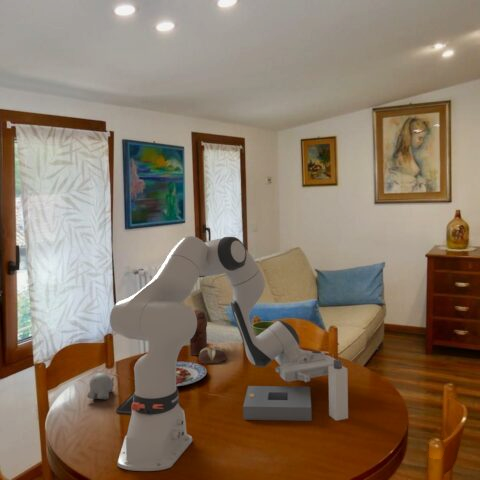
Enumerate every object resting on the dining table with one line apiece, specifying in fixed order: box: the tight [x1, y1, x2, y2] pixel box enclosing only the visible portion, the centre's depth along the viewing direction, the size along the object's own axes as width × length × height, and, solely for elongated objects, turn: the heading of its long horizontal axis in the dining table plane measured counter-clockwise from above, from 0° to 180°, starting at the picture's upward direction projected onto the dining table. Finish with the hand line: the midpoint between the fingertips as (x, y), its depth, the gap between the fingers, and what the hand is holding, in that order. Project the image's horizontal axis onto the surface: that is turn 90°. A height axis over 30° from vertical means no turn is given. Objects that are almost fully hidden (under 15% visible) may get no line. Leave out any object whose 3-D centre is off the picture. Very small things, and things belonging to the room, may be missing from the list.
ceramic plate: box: [176, 361, 207, 388], centre depth 185 cm, size 26×26×3 cm
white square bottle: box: [327, 359, 349, 421], centre depth 148 cm, size 4×4×17 cm
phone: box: [115, 392, 134, 415], centre depth 163 cm, size 8×1×15 cm
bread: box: [198, 346, 227, 365], centre depth 204 cm, size 11×11×5 cm
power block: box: [242, 385, 313, 422], centre depth 156 cm, size 16×20×4 cm
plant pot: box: [251, 320, 276, 337], centre depth 214 cm, size 12×12×11 cm
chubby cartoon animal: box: [87, 372, 115, 400], centre depth 170 cm, size 7×12×8 cm, turn 165°
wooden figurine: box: [189, 309, 208, 356], centre depth 215 cm, size 12×6×18 cm, turn 170°
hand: (321, 377), depth 157 cm, fingers open, 8 cm apart
